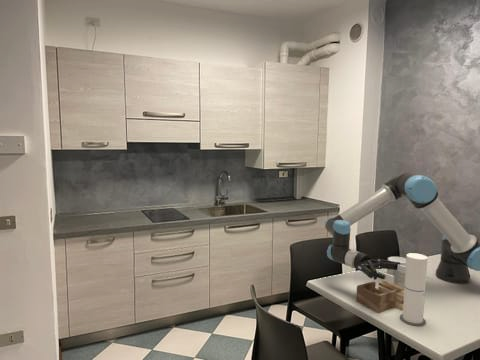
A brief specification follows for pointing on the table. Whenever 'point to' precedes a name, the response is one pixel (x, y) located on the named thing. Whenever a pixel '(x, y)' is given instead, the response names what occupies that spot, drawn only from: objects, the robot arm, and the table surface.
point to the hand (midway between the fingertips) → (403, 276)
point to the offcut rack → (380, 296)
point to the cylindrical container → (414, 287)
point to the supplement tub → (398, 276)
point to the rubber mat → (413, 323)
